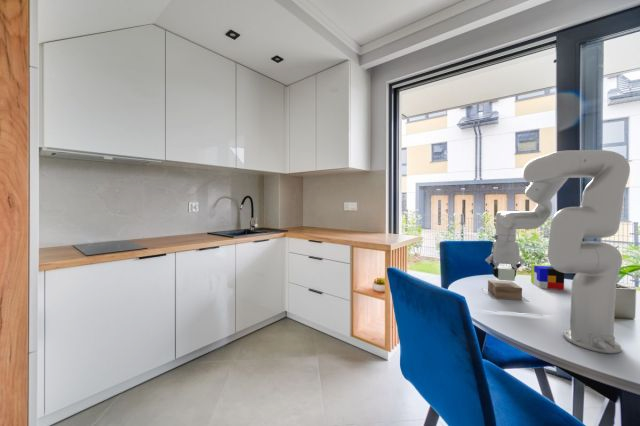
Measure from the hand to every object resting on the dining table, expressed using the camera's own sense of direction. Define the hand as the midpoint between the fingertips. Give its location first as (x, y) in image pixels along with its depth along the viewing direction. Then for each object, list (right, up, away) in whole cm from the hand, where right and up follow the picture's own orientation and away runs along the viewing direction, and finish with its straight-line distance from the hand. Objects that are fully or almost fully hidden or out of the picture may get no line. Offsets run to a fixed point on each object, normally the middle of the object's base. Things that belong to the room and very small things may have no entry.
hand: (504, 277), depth 122 cm
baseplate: (0, -9, 0) cm, 9 cm away
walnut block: (0, -8, 0) cm, 8 cm away
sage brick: (0, -1, 0) cm, 1 cm away
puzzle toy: (+33, -9, +16) cm, 38 cm away
